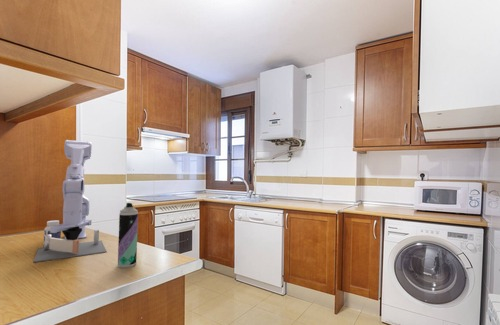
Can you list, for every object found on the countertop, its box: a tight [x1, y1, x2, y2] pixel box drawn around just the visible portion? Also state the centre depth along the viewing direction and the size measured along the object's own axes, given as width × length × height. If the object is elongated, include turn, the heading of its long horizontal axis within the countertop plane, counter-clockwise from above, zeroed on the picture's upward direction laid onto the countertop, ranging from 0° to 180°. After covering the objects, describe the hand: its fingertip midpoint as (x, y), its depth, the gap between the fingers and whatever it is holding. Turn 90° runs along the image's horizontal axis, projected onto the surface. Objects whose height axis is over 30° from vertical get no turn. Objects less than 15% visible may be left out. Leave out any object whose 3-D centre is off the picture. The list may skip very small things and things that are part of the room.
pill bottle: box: [43, 219, 62, 247], centre depth 104 cm, size 5×5×10 cm
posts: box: [43, 229, 100, 251], centre depth 101 cm, size 2×17×6 cm, turn 125°
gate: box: [49, 238, 80, 254], centre depth 95 cm, size 13×1×5 cm, turn 72°
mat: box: [32, 240, 108, 264], centre depth 98 cm, size 18×21×1 cm
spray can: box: [117, 202, 139, 269], centre depth 85 cm, size 6×6×20 cm
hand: (71, 248), depth 95 cm, fingers closed
